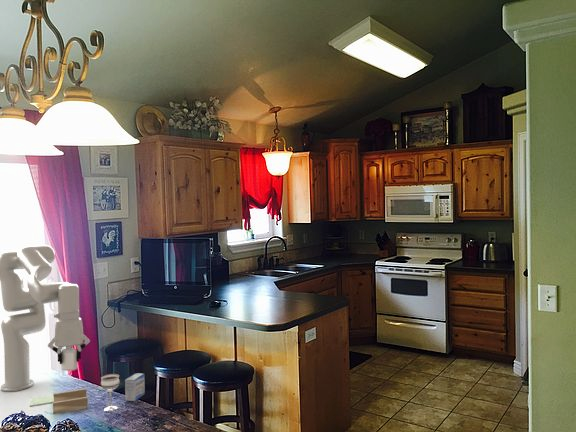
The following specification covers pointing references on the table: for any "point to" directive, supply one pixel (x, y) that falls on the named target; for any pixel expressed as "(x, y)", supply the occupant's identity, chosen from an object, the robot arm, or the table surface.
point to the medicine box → (134, 387)
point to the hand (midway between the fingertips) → (69, 361)
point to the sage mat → (42, 400)
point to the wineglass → (110, 387)
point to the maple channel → (70, 401)
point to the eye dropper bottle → (69, 358)
